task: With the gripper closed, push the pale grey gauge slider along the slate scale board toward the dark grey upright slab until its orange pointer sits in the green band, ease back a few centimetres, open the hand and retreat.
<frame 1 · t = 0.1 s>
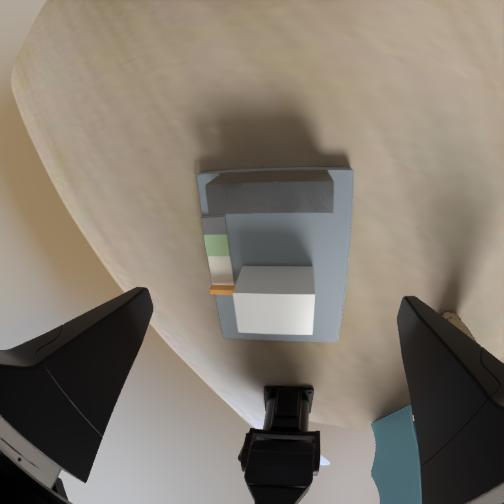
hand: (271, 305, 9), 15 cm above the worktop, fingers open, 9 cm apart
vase: (398, 420, 35), on the worktop
dark grey upright slab: (271, 189, 19), point 3 cm above the worktop
gauge slider: (258, 299, 23), point 3 cm above the worktop, slide at 0.0 cm
scale board: (279, 263, 25), on the worktop
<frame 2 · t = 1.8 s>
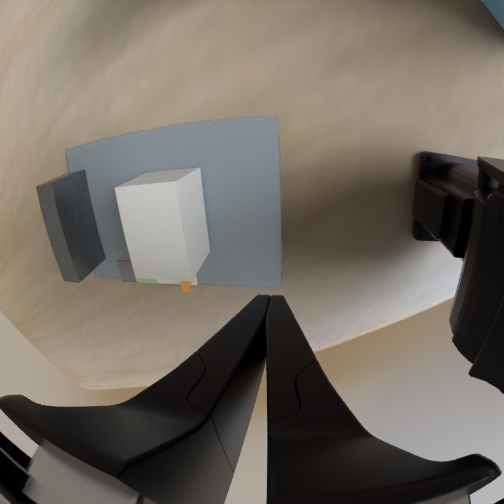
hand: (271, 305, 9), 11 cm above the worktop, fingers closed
dark grey upright slab: (71, 225, 19), point 3 cm above the worktop
gauge slider: (170, 243, 18), point 3 cm above the worktop, slide at 0.0 cm
scale board: (167, 206, 20), on the worktop
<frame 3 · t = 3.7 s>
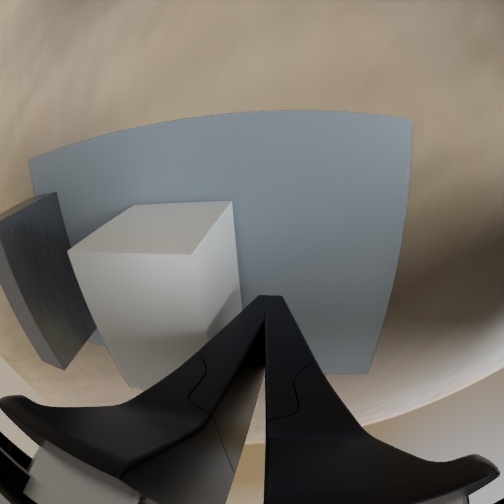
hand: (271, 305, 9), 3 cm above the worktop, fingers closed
dark grey upright slab: (42, 282, 11), point 3 cm above the worktop
gauge slider: (180, 333, 10), point 3 cm above the worktop, slide at 1.2 cm, touching gripper
scale board: (195, 257, 12), on the worktop
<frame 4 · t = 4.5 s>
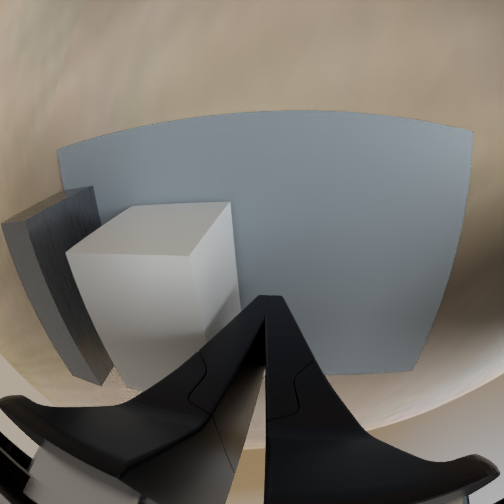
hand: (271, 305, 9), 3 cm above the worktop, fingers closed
dark grey upright slab: (74, 289, 10), point 3 cm above the worktop
gauge slider: (179, 334, 10), point 3 cm above the worktop, slide at 4.0 cm, touching gripper
scale board: (254, 259, 12), on the worktop
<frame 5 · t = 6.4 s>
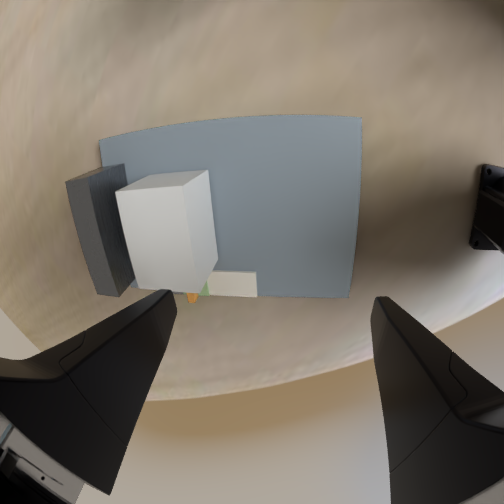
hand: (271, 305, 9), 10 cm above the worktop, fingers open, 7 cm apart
dark grey upright slab: (107, 229, 17), point 3 cm above the worktop
gauge slider: (175, 251, 17), point 3 cm above the worktop, slide at 4.0 cm
scale board: (225, 209, 19), on the worktop
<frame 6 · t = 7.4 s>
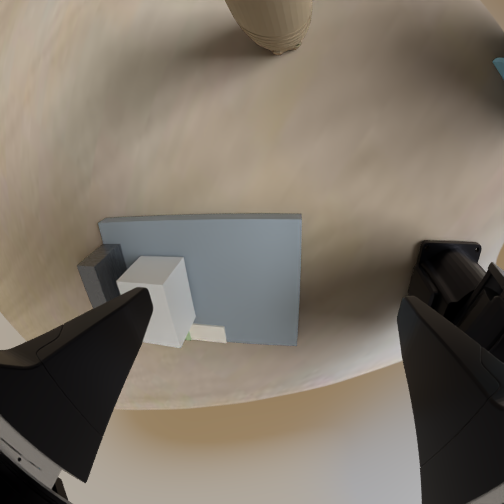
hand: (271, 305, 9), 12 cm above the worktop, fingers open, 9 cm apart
handle: (279, 36, 14), on the worktop
dark grey upright slab: (112, 294, 22), point 3 cm above the worktop
gauge slider: (163, 315, 22), point 3 cm above the worktop, slide at 4.0 cm
scale board: (200, 280, 24), on the worktop
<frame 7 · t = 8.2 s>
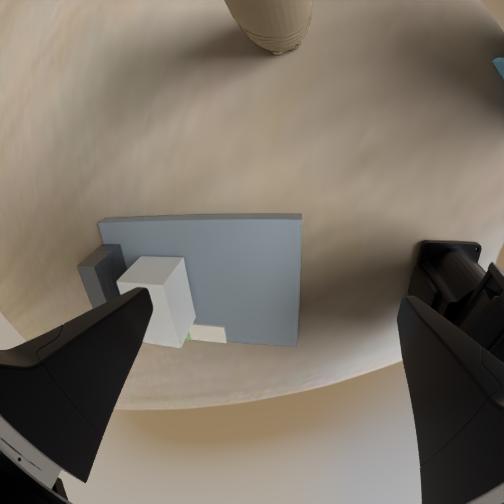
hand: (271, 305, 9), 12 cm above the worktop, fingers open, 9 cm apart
handle: (279, 36, 14), on the worktop
dark grey upright slab: (112, 294, 22), point 3 cm above the worktop
gauge slider: (163, 315, 22), point 3 cm above the worktop, slide at 4.0 cm
scale board: (200, 280, 24), on the worktop
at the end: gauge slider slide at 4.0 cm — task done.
